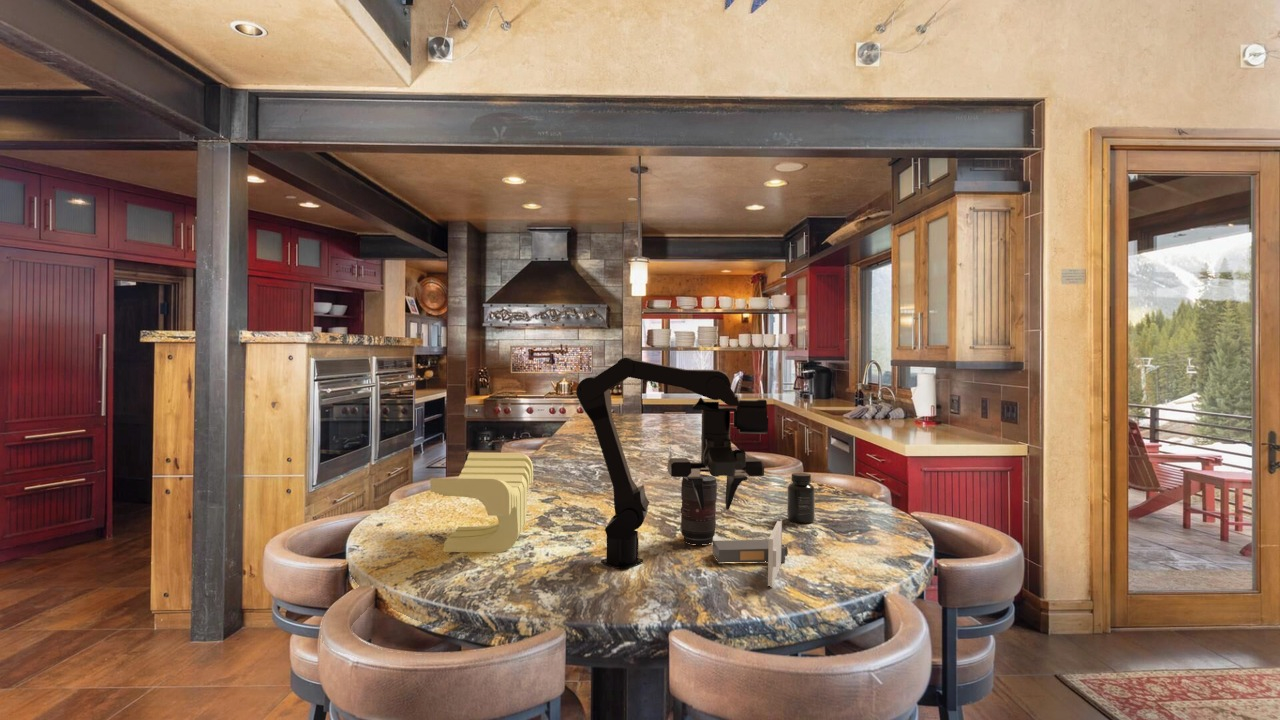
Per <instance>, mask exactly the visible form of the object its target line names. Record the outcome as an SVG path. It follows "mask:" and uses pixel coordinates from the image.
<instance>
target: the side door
mask: <svg viewBox="0 0 1280 720" xmlns="http://www.w3.org/2000/svg"><path fill="white" fill-rule="evenodd" d="M768 540H769V546H768V563H767V587H768V586H770V587H769V588H773V586H774V583H775V581H776V579H775V578H777V576H778V574H779V570H780V568H781V566H782V563H781V559H782V543H783V519H782V518H777V521H776V523H775V525H774V527H773V529H772V532H771V533H770V536H768Z"/></svg>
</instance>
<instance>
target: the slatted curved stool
mask: <svg viewBox="0 0 1280 720" xmlns="http://www.w3.org/2000/svg"><path fill="white" fill-rule="evenodd" d="M429 481H430V482H429V483H430V485H429V486H430V491H429V492H430V493H434V494H438V495H441V496H442V497H462V498H469V499H475V500H478V501H479V502H481V503H482V505H483V506H484V507H485V510H486V512H487V513H486V514H487V516H489V517H490V516H495V517H496V518H497V521H498V522H497V523H494V524H488V525H479V526H478V525H477V526H476V525H475V526H458V527H457V528H456V529H455V531H453V532H452V533H451V534H450V535H449V536H448V537H447V538H446V539H445V541H444V543H443V551H442V552H444V553H447V552H448V553H457V552H458V553H462V552H463V553H503V552H506V551H508V550H510V549H511V548H512V547H513V546H514V545H515V543H516V542H517V540H518V538H519V537H520V535H521V534H522V531H523V530H524V528H525V526H526V524H527V508H528V493H529V489H530V485H531V484H534V465H533V461H532V460H531V458H530V457H529V456H528V455H527V454H525V453H523V452H480V451H479V452H475V451H474V452H473V451H472V452H468V455H467V458H466V460H465V463H464V465H463V467H462V469H461V472H460V474H459V475H458V477H457V478H454V477H453V478H450V477H448V478H444V477H443V478H439V477H437V478H433V477H431V478H430V480H429Z"/></svg>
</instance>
